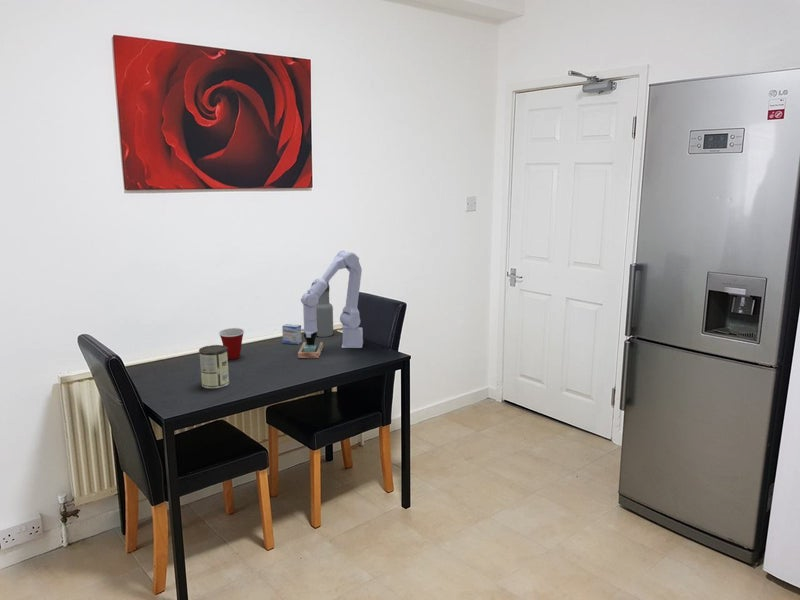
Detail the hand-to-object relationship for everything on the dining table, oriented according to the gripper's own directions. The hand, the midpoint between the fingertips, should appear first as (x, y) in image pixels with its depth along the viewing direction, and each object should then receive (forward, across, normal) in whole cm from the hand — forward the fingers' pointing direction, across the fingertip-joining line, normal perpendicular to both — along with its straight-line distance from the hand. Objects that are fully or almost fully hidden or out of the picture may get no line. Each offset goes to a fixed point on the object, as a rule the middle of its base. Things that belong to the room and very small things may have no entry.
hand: (311, 349), depth 281 cm
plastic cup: (+2, +8, -33) cm, 34 cm away
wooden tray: (+1, 0, 0) cm, 1 cm away
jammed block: (+1, +4, 0) cm, 4 cm away
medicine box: (+2, -16, -11) cm, 19 cm away
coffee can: (+2, +43, -31) cm, 53 cm away
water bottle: (+2, -31, +2) cm, 31 cm away
